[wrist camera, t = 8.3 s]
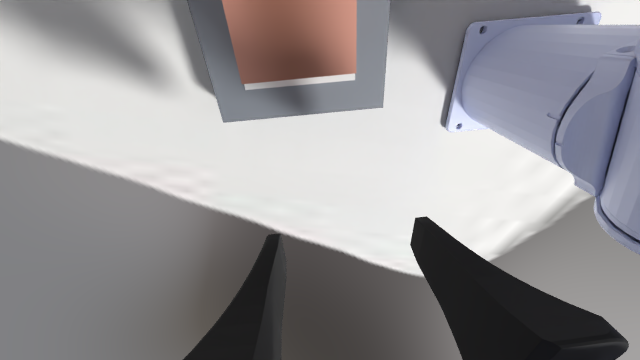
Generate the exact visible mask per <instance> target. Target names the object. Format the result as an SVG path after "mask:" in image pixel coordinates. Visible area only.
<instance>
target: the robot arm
mask: <svg viewBox="0 0 640 360" xmlns="http://www.w3.org/2000/svg"><path fill="white" fill-rule="evenodd" d="M578 19H579V22H578V23H577V21H578ZM600 20H601V13H600V12H586V13H574V14H563V15H551V16H540V17H528V18H516V19H505V20H493V21H482V22H474V23H472V24H470V25H469V27H468V28H467V31H466V35H465V39H464V44H463V48H462V53H461V58H460V62H459V67H458V71H457V76H456V81H455V85H454V90H453V94H452V99H451V103H450V108H449V113H448V117H447V122H446V130H447V131H449V132H459V131H469V130H479V129H491V130H493V131H495V132H496V133H498V134H500V135H502V136H504V137H506V138H507V139H509V140H511V141H513V142H515V143H517V144H519V145H520V146H522V147H524V148H526V149H528V150H530V151H531V152H533V153H535V154H537V155H539V156H541V157H542V158H544V159H546V160H548V161H550V162H552V163H553V164H555V165H557V166H559V167H561V168H563V169H565V170H566V171H568V172H569V173H571V174H572V175H573V176H574V179H575V185H576V186H577V187H579V188H581V189H582V190H584V191H586V192H588V193H589V194H591V195H593V196H595V197H596V199H595V203H594V212H595V216H596V219H597V220H598V222H599V224H600V226H601V227H602V228H603V229H604V230H605V231H606V232H607V233H608V234H609V235H610V236H611V237H612V238H614V239H615V240H616V241H617V242H619V243H620V244H622V245H623V246H625V247H626V248H628V249H630V250H631V251H634V252H635V253H637V254H639V255H640V25H598V24H599V22H600ZM482 26H483V31H482V33H481V34H480V33H479V31H480V28H481V27H482ZM459 123H460V125H459V126H458V127H456V126H457V125H458V124H459ZM410 245H411V248H412V250H413V253H414V256H415V258H416V261H417V263H418V265H419V267H420V269H421V270H422V272H423V274H424V276H425V278H426V280H427V281H428V283H429V285H430V287H431V289H432V291H433V293H434V294H435V296H436V298H437V300H438V302H439V304H440V306H441V308H442V310H443V312H444V315H445V317H446V319H447V322H448V324H449V326H450V329H451V331H452V333H453V336H454V338H455V341H456V343H457V346H458V348H459V351H460V354H461V356H462V359H463V360H615V359H617V358H618V357H620V356H621V355H622V354H623V353H624V352H626V351H627V349H628V347H629V346H628V345H629V344H628V341H627V340H626V339H625V338H624V337H623V336H622V335H621V334H620V333H619V332H617V330H615V329H614V328H613V327H612V326H611V325H610V324H609V323H608V322H607V321H606V320H605V319H604V318H603V317H601V316H599V315H596V314H594V313H591V312H589V311H586V310H584V309H581V308H579V307H576V306H574V305H571V304H569V303H567V302H564V301H562V300H560V299H558V298H556V297H553V296H551V295H549V294H547V293H545V292H542V291H540V290H538V289H536V288H534V287H532V286H530V285H529V284H527V283H525V282H523V281H521V280H519V279H517V278H515V277H513V276H512V275H510V274H508V273H506V272H504V271H502V270H501V269H499V268H498V267H496V266H494V265H492V264H491V263H489V262H488V261H486V260H485V259H483V258H482V257H480V256H479V255H477V254H476V253H474V252H473V251H471V250H470V249H469V248H467V247H466V246H464V245H463V244H462V243H460V242H459V241H458V240H456V239H455V238H454V237H452V236H451V235H450V234H448V233H447V232H446V231H445V230H443V229H442V228H441V227H439V226H438V225H437V224H436V223H434V222H433V221H432V220H431V219H429V218H428V217H419V218H415V223H414V228H413V233H412V239H411V244H410ZM285 287H286V257H285V253H284V248H283V243H282V239H281V234H271V235H268V236H267V238H266V240H265V243H264V245H263V248H262V250H261V252H260V254H259V256H258V258H257V260H256V262H255V264H254V266H253V268H252V270H251V272H250V273H249V275H248V277H247V278H246V280H245V282H244V284H243V285H242V287H241V288H240V290H239V291H238V293H237V294H236V296H235V298H234V299H233V300H232V302H231V303H230V305H229V306H228V307H227V309H226V310H225V311H224V313H223V314H222V315H221V317H220V318H219V319H218V321H217V322H216V323H215V324H214V326H213V327H212V328H211V329H210V330H209V331H208V333H207V334H206V335H205V336H204V337H203V338H202V340H201V341H200V342H199V343H198V344H197V345H196V346H195V348H194V349H193V350H192V351H191V352H190V353H189V354H188V355H187V356H186V357H185V358H184V359H183V360H281V333H282V318H283V308H284V298H285Z"/></svg>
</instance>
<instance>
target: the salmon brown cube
mask: <svg viewBox="0 0 640 360" xmlns="http://www.w3.org/2000/svg"><path fill="white" fill-rule="evenodd" d="M222 3H223V7H224V12H225V16H226V20H227V24H228V28H229V33H230V37H231V41H232V45H233V49H234V53H235V58H236V62H237V66H238V70H239V74H240V79H241V83H242V84H251V83H262V82H272V81H282V80H293V79H303V78H313V77H324V76H334V75H344V74H355V73H356V39H357V0H222Z"/></svg>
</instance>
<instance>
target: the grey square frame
mask: <svg viewBox="0 0 640 360" xmlns="http://www.w3.org/2000/svg"><path fill="white" fill-rule="evenodd" d="M187 1H188V5H189V8H190V12H191V15H192V18H193V22H194V25H195V28H196V32H197V35H198V39H199V42H200V45H201V49H202V52H203V55H204V59H205V62H206V65H207V69H208V72H209V76H210V79H211V82H212V86H213V89H214V92H215V96H216V99H217V103H218V106H219V109H220V113H221V116H222V119H223V123H224V122H235V121H246V120H256V119H267V118H277V117H288V116H298V115H309V114H319V113H330V112H340V111H351V110H362V109H372V108H383V99H384V85H385V70H386V56H387V42H388V27H389V13H390V0H357V39H356V73H355V74H344V75H334V76H324V77H313V78H303V79H293V80H282V81H272V82H262V83H251V84H242V83H241V79H240V74H239V70H238V66H237V62H236V58H235V53H234V49H233V45H232V41H231V37H230V33H229V28H228V24H227V20H226V16H225V12H224V7H223V3H222V0H187Z"/></svg>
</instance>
